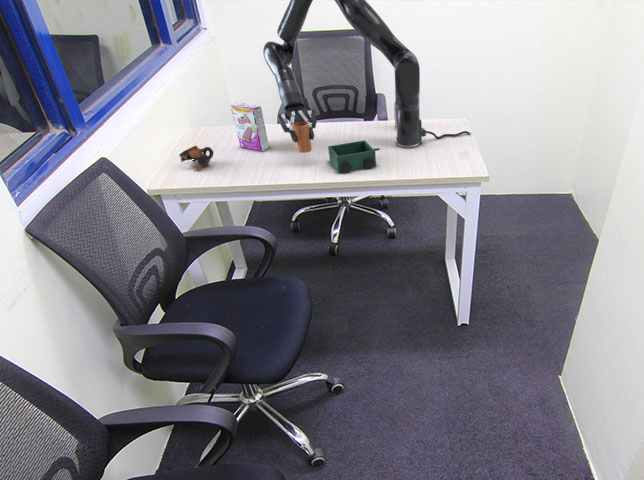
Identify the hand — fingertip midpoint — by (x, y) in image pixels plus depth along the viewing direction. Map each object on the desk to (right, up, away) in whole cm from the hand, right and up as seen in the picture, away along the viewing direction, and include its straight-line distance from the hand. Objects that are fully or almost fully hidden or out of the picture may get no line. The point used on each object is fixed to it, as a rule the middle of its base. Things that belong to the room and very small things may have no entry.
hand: (304, 140), depth 185 cm
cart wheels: (+19, -6, +8) cm, 21 cm away
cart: (+17, -6, +7) cm, 19 cm away
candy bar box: (-25, +4, +21) cm, 32 cm away
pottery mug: (-41, -7, +8) cm, 42 cm away
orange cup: (-1, -2, +4) cm, 5 cm away
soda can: (+35, +19, +37) cm, 54 cm away
